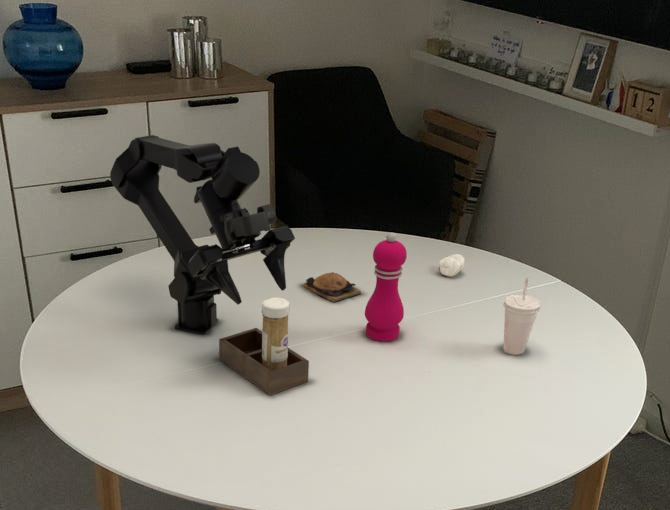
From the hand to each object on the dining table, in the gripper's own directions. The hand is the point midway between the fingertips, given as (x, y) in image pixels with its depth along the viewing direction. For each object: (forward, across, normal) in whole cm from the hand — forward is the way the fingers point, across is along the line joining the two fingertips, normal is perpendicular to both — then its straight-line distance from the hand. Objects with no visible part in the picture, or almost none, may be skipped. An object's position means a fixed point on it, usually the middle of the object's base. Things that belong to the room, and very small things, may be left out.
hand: (262, 296), depth 148 cm
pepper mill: (+12, +26, +8) cm, 30 cm away
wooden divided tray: (+11, -1, +8) cm, 14 cm away
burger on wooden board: (-2, +31, +23) cm, 39 cm away
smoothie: (+25, +42, -5) cm, 49 cm away
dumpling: (+3, +59, +18) cm, 62 cm away
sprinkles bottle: (+12, -1, +6) cm, 14 cm away
